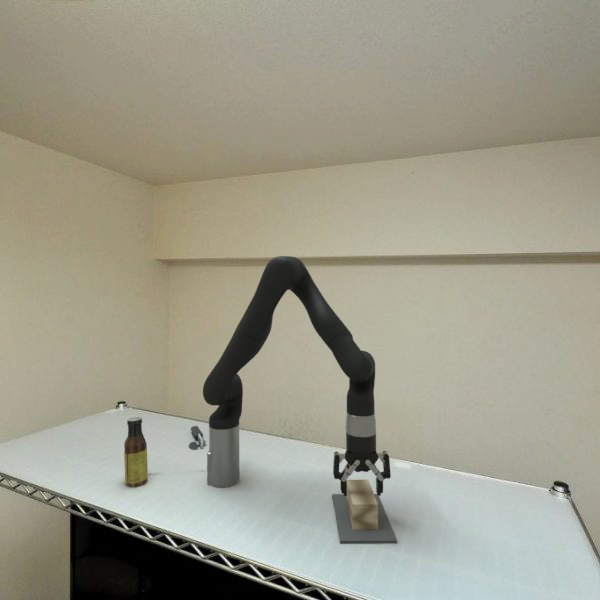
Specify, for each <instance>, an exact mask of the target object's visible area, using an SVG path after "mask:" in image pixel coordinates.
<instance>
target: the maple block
mask: <svg viewBox="0 0 600 600" xmlns="http://www.w3.org/2000/svg"><path fill="white" fill-rule="evenodd" d="M346 481H347V496H346V503H347V507H348V511H349V515H350V520H351V524H352V528H353V530H378V503H377V501H376V498H375V496H374V494H375V493H374V490H373V489H372V488H373V487H372V485H371V484H370V481H369V479H346Z"/></svg>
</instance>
